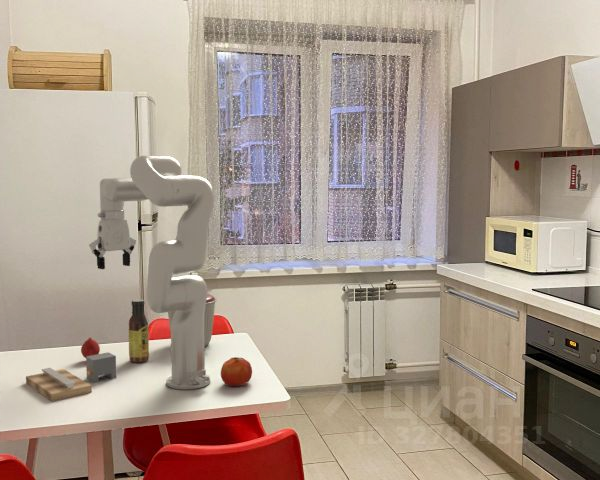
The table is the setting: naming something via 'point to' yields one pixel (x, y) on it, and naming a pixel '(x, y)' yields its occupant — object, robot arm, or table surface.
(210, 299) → the canister
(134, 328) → the sauce bottle
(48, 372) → the rail
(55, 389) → the mounting board
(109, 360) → the block
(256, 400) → the table surface
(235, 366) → the tomato
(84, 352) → the red oval fruit
